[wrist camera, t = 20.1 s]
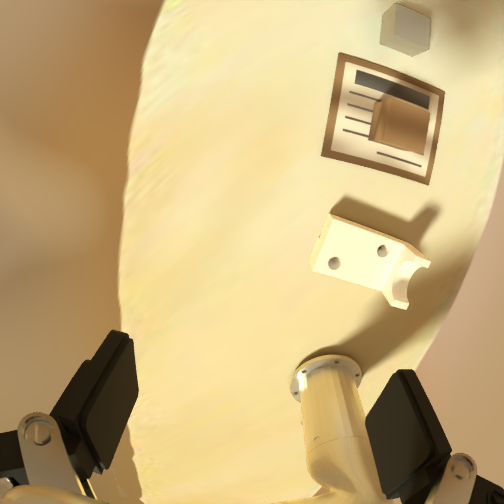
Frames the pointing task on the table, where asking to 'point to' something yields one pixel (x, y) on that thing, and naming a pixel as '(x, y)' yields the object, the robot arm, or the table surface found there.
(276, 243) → the table surface
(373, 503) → the robot arm
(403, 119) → the walnut block
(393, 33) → the block
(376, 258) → the bracket
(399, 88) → the brown white flat panel
